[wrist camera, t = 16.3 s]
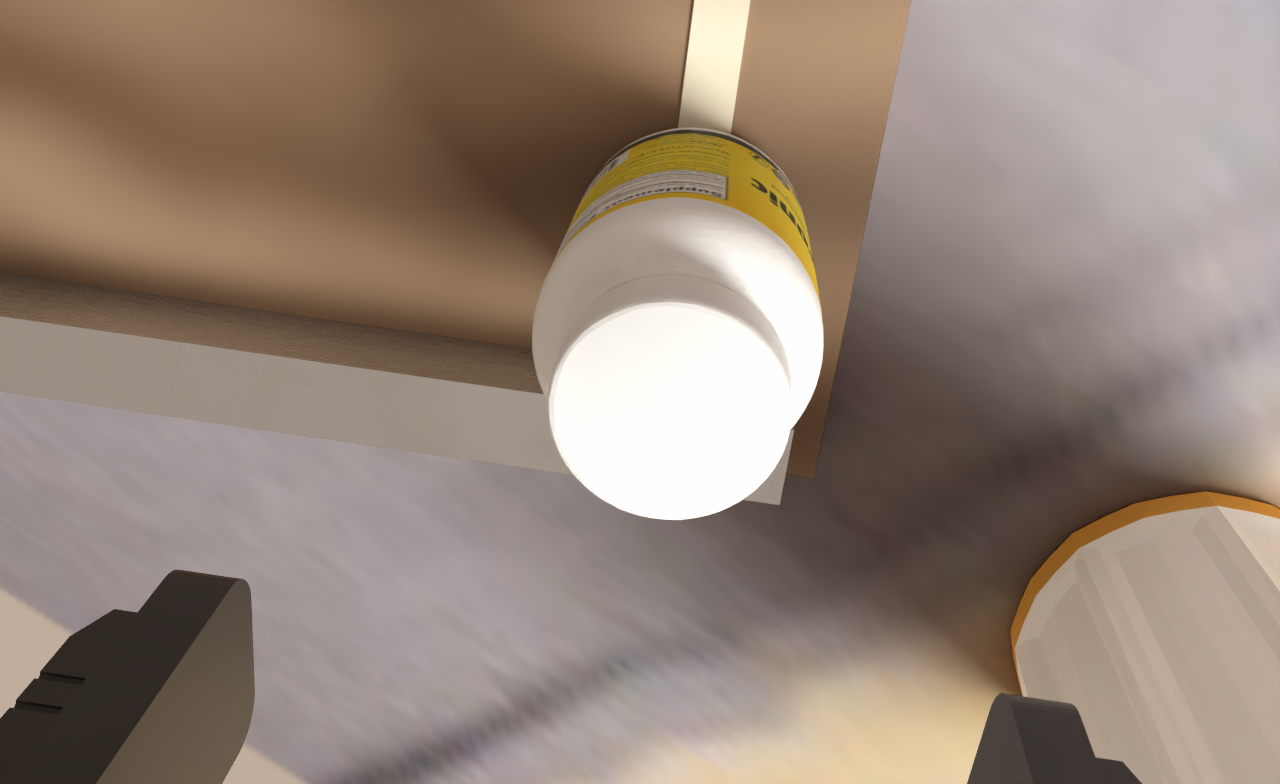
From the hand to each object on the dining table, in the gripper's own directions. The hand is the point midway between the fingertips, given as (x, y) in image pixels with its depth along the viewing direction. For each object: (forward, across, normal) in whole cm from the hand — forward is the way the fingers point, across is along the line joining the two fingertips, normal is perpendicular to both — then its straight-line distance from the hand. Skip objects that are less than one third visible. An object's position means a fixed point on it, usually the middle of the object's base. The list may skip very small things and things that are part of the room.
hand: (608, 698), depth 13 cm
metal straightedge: (+17, +10, +5) cm, 20 cm away
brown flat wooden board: (+18, +10, -1) cm, 21 cm away
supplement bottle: (+17, 0, 0) cm, 17 cm away
